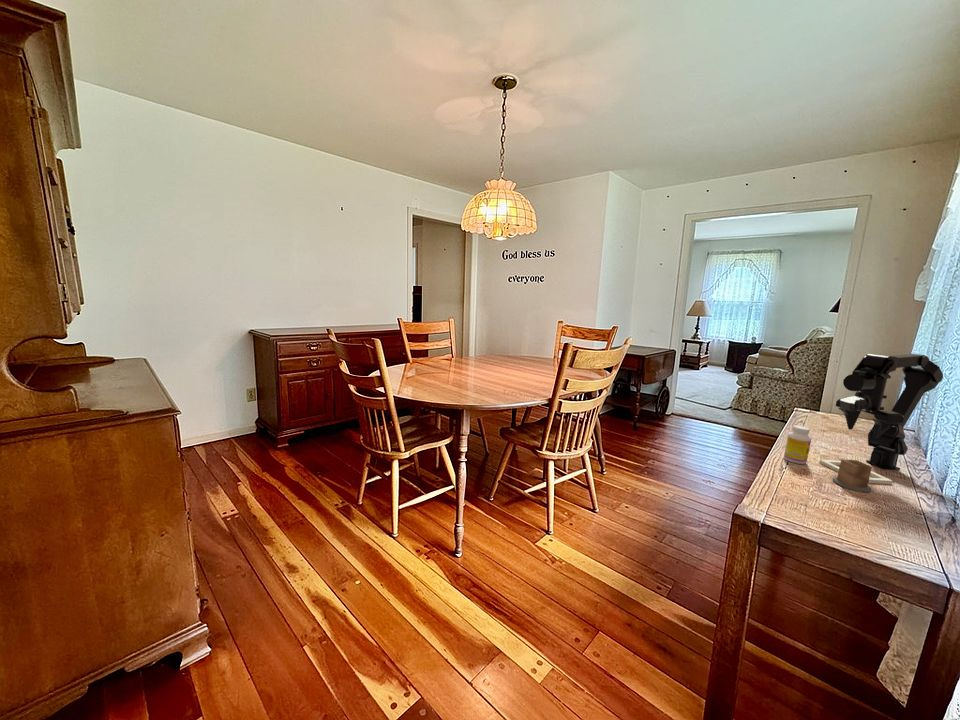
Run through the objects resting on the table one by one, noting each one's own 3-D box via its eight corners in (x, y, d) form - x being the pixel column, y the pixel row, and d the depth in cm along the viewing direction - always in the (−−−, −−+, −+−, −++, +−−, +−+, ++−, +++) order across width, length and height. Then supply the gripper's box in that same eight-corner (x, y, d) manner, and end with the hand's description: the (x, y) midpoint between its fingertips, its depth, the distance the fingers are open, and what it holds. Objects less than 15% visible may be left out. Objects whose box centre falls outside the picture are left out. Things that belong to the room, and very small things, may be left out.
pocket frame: (849, 464, 141) (850, 461, 141) (891, 484, 126) (892, 480, 126) (819, 462, 141) (819, 459, 141) (858, 482, 126) (858, 478, 126)
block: (852, 480, 126) (856, 460, 125) (867, 487, 121) (872, 466, 120) (836, 479, 126) (841, 459, 125) (851, 486, 121) (855, 466, 120)
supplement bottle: (807, 466, 137) (814, 432, 135) (783, 461, 141) (790, 427, 139) (805, 460, 142) (812, 427, 140) (783, 455, 146) (789, 423, 144)
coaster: (852, 479, 128) (852, 477, 128) (879, 493, 119) (880, 491, 119) (825, 477, 128) (825, 476, 128) (850, 491, 119) (850, 489, 119)
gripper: (825, 383, 142) (816, 423, 144) (875, 396, 123) (864, 442, 126) (855, 384, 142) (846, 425, 144) (910, 398, 123) (899, 444, 126)
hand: (862, 433), depth 135 cm, fingers open, 9 cm apart
